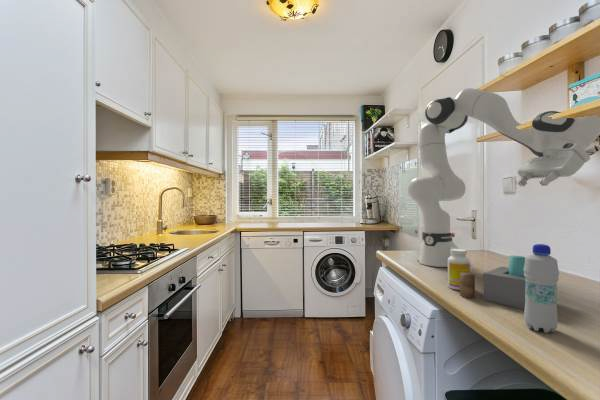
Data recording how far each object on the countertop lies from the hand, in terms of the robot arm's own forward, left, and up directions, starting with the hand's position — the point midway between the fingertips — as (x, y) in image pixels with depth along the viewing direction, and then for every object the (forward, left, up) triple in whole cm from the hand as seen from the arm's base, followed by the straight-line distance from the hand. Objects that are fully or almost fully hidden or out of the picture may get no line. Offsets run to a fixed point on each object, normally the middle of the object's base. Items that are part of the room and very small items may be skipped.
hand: (531, 184), depth 106 cm
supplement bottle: (+16, -16, -35) cm, 41 cm away
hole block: (+15, +1, -34) cm, 38 cm away
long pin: (+15, +1, -34) cm, 38 cm away
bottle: (+33, +12, -35) cm, 50 cm away
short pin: (+22, -10, -34) cm, 42 cm away
